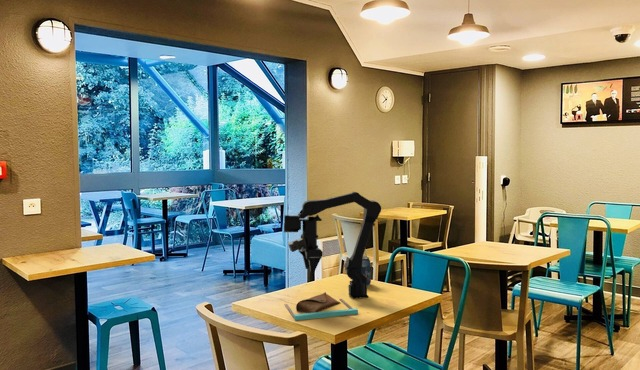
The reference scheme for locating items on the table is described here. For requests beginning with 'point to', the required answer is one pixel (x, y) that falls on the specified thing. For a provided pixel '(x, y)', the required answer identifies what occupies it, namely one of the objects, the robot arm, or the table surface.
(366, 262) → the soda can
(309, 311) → the sunglasses case
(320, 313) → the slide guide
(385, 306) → the table surface
